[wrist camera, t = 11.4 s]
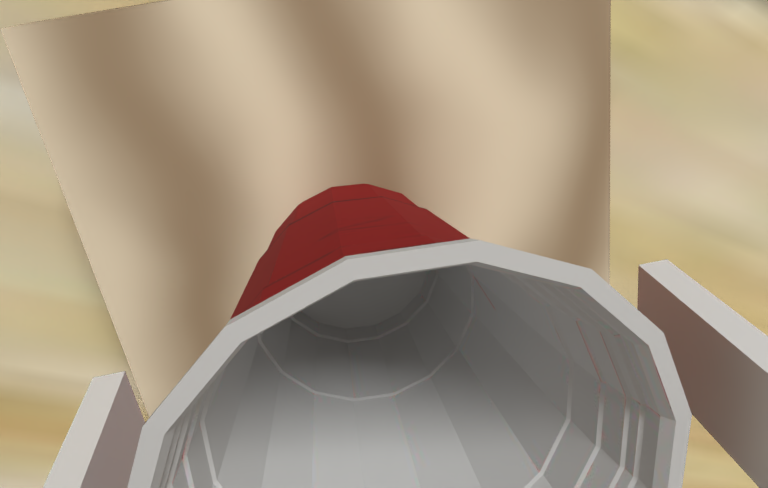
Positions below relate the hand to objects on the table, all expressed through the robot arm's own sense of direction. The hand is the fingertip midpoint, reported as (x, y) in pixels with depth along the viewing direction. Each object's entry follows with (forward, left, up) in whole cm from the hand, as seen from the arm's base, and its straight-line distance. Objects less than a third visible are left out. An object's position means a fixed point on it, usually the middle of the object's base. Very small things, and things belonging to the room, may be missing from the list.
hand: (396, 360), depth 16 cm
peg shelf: (0, 0, -14) cm, 14 cm away
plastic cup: (0, 0, -7) cm, 7 cm away
